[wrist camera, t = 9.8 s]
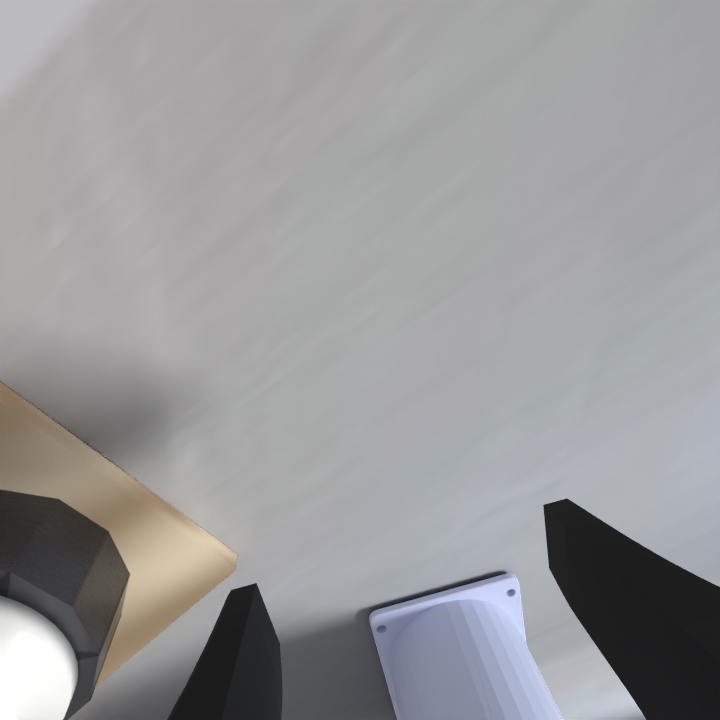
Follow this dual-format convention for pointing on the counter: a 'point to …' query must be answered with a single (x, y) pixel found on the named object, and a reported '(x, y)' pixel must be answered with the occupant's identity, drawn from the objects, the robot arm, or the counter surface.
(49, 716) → the white round knobbed piece
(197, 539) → the square wooden board
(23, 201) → the counter surface
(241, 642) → the robot arm
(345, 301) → the counter surface
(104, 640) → the ring
